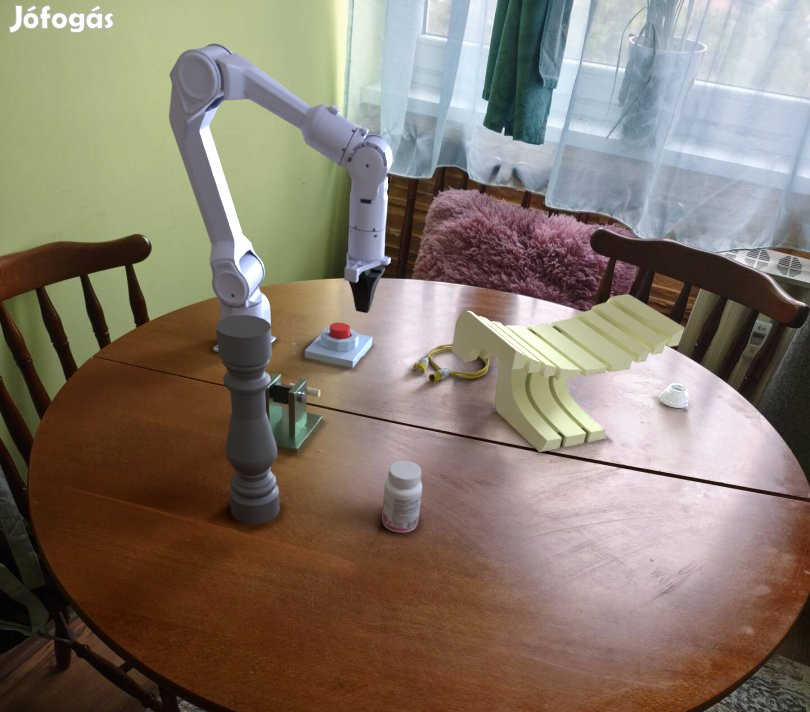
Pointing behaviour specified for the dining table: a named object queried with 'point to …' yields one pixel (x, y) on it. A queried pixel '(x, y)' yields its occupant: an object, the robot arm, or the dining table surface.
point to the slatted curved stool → (562, 363)
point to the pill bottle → (402, 497)
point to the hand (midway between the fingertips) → (362, 310)
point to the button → (339, 331)
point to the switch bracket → (290, 416)
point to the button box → (339, 348)
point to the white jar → (675, 396)
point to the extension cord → (445, 372)
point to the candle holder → (249, 417)
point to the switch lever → (283, 390)
